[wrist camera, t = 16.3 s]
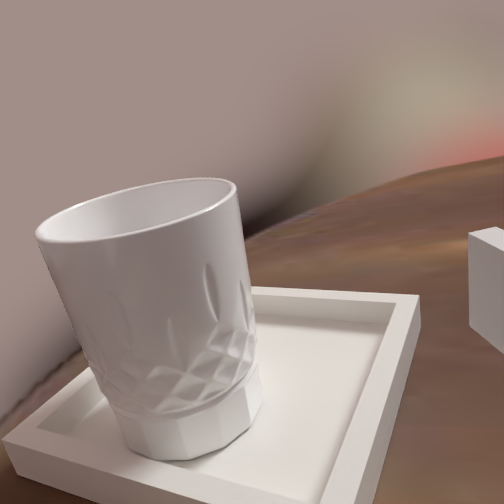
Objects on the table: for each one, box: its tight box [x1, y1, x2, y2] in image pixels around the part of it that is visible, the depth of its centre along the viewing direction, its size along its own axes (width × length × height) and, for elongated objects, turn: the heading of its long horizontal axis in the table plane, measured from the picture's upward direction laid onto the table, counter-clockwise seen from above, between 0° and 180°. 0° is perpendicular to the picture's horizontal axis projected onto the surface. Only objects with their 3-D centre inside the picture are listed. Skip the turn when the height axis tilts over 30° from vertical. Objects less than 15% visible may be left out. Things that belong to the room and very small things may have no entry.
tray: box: [1, 286, 421, 504], centre depth 23 cm, size 15×15×2 cm
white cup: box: [34, 178, 263, 460], centre depth 21 cm, size 8×8×10 cm
